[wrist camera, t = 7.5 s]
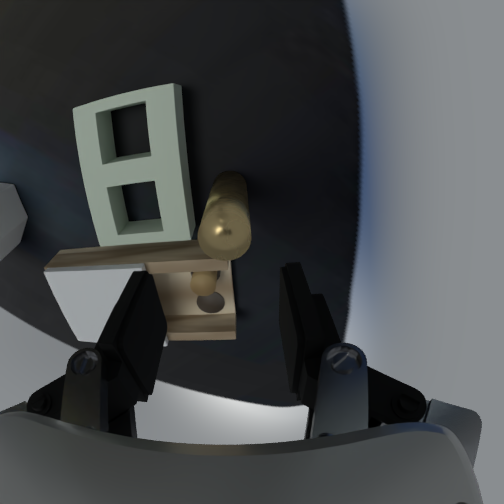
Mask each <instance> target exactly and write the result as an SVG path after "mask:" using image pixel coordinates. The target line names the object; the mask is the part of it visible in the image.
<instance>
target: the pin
mask: <svg viewBox="0 0 504 504" xmlns="http://www.w3.org/2000/svg"><path fill="white" fill-rule="evenodd" d="M198 242H199V245H200V247H201V249H202V250H203V251H204V252H205V254H207V255H208V256H210V257H211V258H213V259H216V260H220V261H230V260H234V259H237V258H239V257H240V256H242V255H243V254H244V253H245V252H246V251H247V250H248V248H249V246H250V243H251V228H250V217H249V206H248V195H247V184H246V181H245V179H244V178H243V176H242V175H240V174H239V173H237V172H234V171H225V172H223V173H221V174H219V175H218V176H217V177H216V179H215V180H214V183H213V186H212V189H211V192H210V195H209V198H208V201H207V205H206V208H205V211H204V214H203V217H202V221H201V224H200V227H199V231H198Z"/></svg>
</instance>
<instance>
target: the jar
mask: <svg viewBox="0 0 504 504" xmlns="http://www.w3.org/2000/svg"><path fill="white" fill-rule="evenodd" d="M27 219H28V216H27V214H26V212H25V209H24V207H23V205H22V203H21V200H20V198H19V196H18V193H17V191H16V188H15V186H14V184H8V183H0V261H1V260H2V259H3V258H4V257H5V256H6V255H7V254H8V253H9V252H11V251H12V250H13V249H14V248H15V247H16V246H17V245H18V244H19V243H20V242H21V238H22V235H23V231H24V228H25V225H26V222H27Z"/></svg>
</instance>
